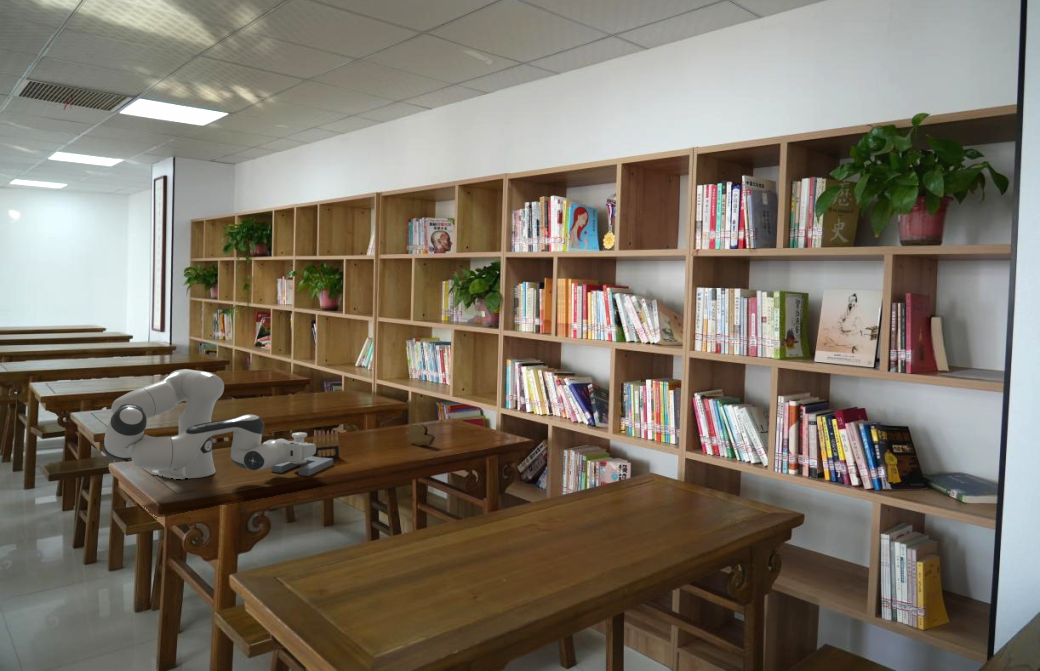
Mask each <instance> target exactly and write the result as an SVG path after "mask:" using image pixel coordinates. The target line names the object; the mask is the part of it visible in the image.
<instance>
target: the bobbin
mask: <svg viewBox="0 0 1040 671" xmlns="http://www.w3.org/2000/svg"><path fill="white" fill-rule="evenodd" d="M291 437H292V438H293V439H294V438H295V442H301V443H303V442H305V438H307V437H308V433H307V432H301V431H299V432H293V433H292V434H291ZM306 462H307V459H306V458H303V459H302V461H299V462H292V463H295V464H302V463H306Z"/></svg>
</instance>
